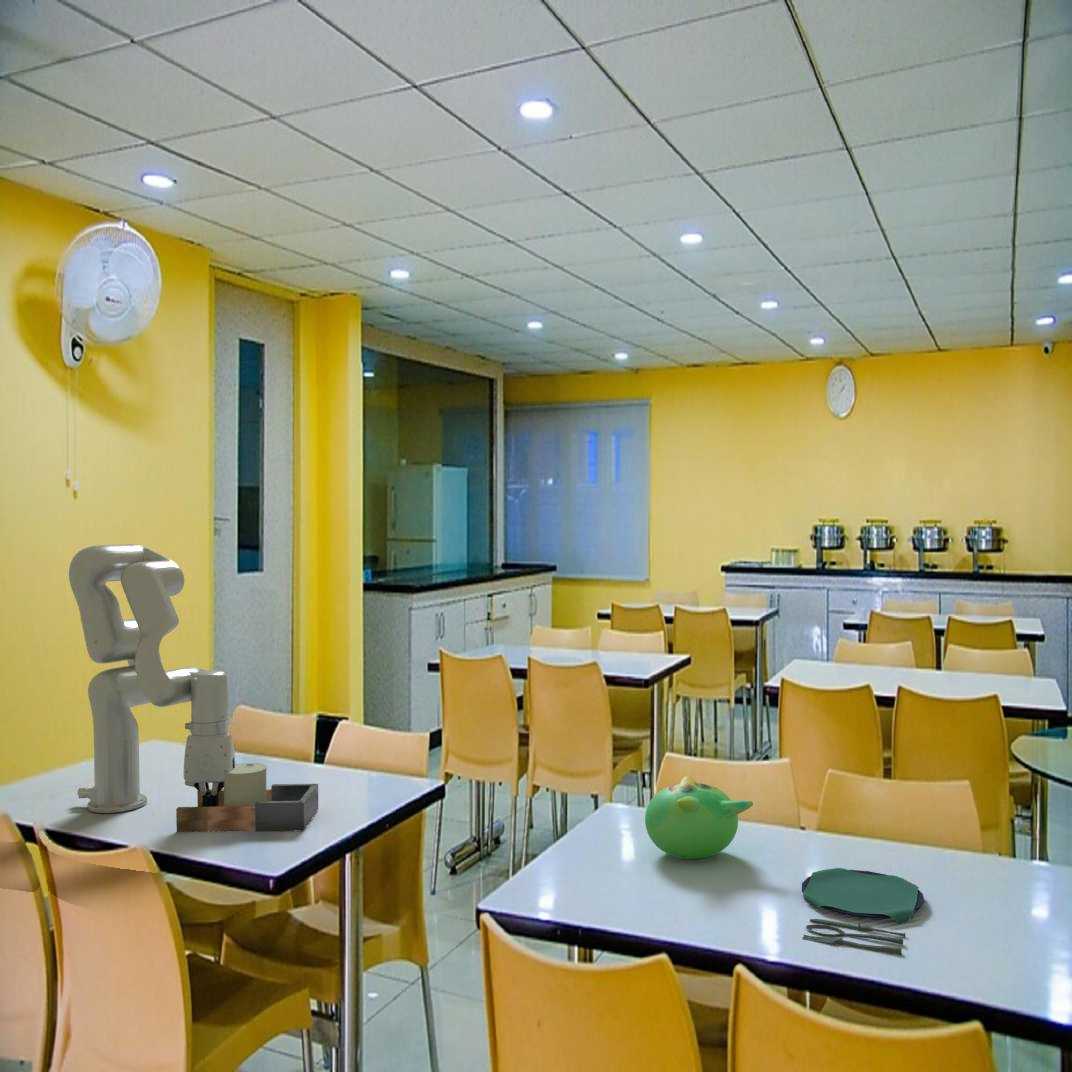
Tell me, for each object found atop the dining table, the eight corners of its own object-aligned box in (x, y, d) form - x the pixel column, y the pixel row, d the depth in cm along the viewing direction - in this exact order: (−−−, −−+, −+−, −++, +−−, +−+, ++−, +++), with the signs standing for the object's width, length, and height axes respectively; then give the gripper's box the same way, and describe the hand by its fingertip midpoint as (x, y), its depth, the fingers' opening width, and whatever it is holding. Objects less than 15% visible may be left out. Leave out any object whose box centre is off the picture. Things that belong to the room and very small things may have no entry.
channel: (176, 832, 202) (176, 808, 202) (199, 811, 216) (199, 789, 216) (255, 831, 202) (255, 807, 202) (273, 810, 217) (272, 788, 217)
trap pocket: (255, 831, 202) (255, 803, 202) (273, 810, 217) (272, 784, 217) (304, 830, 202) (303, 802, 202) (318, 810, 217) (318, 783, 217)
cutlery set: (928, 889, 169) (928, 876, 168) (915, 964, 142) (914, 949, 141) (812, 873, 177) (811, 861, 177) (778, 941, 150) (778, 926, 150)
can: (273, 814, 214) (273, 761, 214) (258, 828, 205) (257, 771, 204) (233, 813, 215) (233, 760, 214) (216, 827, 205) (215, 771, 205)
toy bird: (710, 837, 197) (710, 765, 196) (757, 864, 181) (757, 786, 181) (631, 848, 190) (630, 774, 190) (673, 878, 174) (673, 797, 174)
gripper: (168, 732, 205) (169, 817, 205) (239, 731, 205) (240, 817, 206) (181, 724, 213) (182, 807, 213) (249, 724, 213) (250, 806, 213)
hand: (210, 811), depth 209 cm, fingers closed
